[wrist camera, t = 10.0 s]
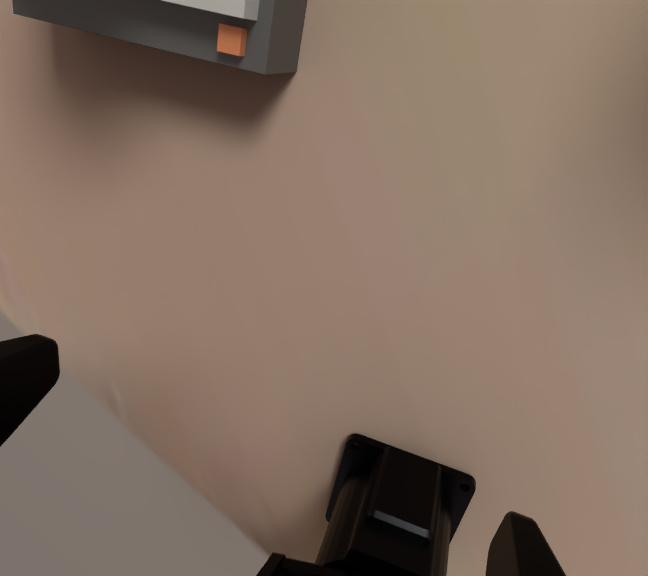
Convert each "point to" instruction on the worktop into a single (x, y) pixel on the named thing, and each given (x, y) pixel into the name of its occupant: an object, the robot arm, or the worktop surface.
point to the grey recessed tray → (190, 27)
